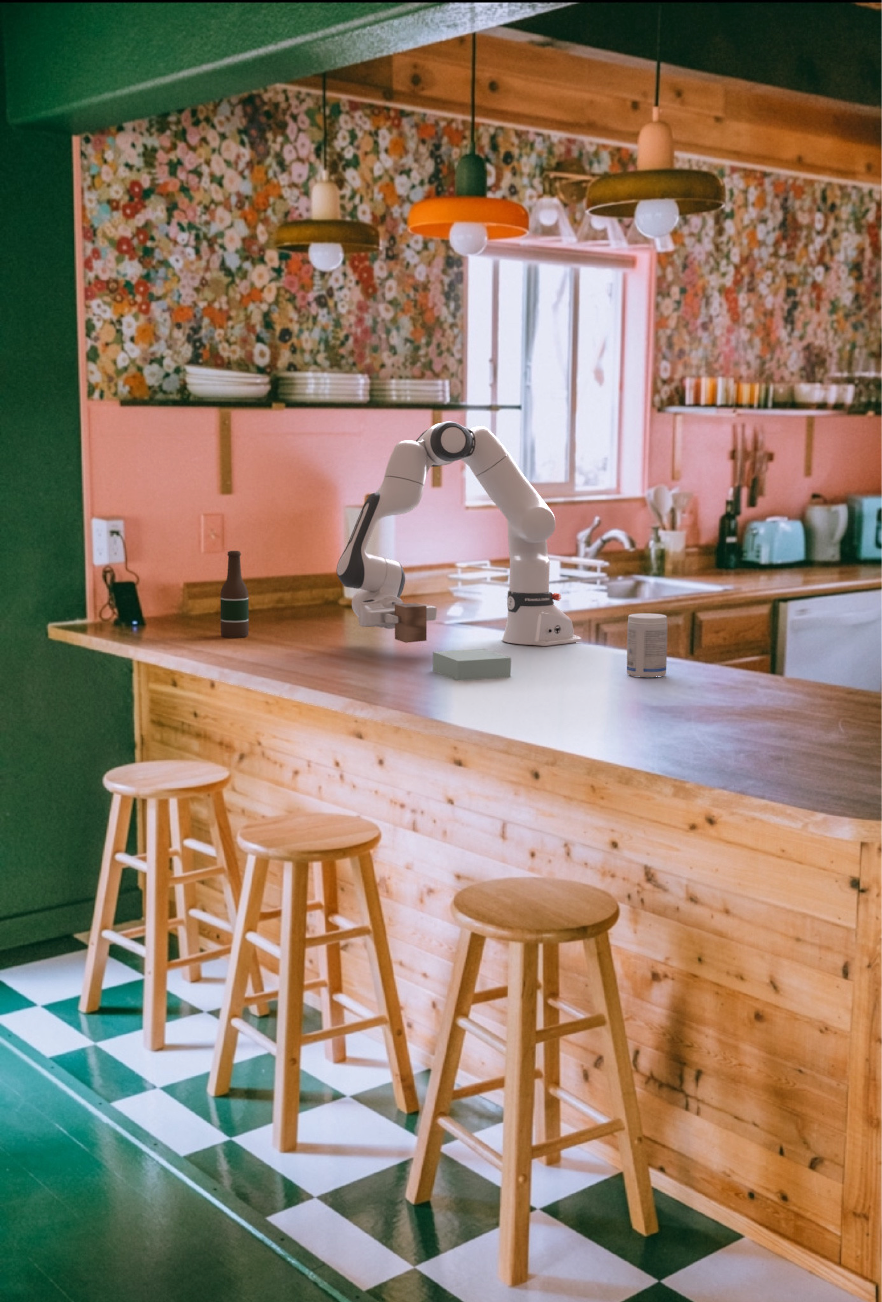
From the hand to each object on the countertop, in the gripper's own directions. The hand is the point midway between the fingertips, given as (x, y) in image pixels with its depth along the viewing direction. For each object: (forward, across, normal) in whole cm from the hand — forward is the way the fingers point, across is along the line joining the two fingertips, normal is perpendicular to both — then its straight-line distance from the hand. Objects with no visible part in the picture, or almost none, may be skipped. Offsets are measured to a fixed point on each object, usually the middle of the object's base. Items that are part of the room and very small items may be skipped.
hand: (412, 618), depth 338 cm
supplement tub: (+43, -42, -11) cm, 61 cm away
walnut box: (-1, 0, -6) cm, 6 cm away
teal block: (+24, -4, -11) cm, 26 cm away
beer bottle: (-54, +28, -11) cm, 62 cm away
